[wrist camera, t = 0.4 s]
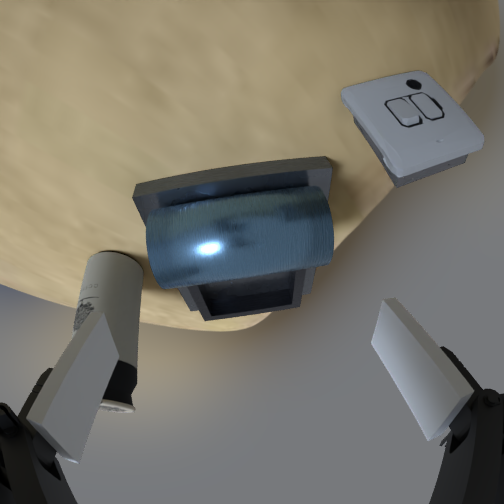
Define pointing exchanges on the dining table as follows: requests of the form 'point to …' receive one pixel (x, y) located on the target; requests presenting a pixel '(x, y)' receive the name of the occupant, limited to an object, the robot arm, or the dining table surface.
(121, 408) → the travel mug
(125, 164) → the dining table surface
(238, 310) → the base
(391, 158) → the electrical switch
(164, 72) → the dining table surface
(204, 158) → the dining table surface
